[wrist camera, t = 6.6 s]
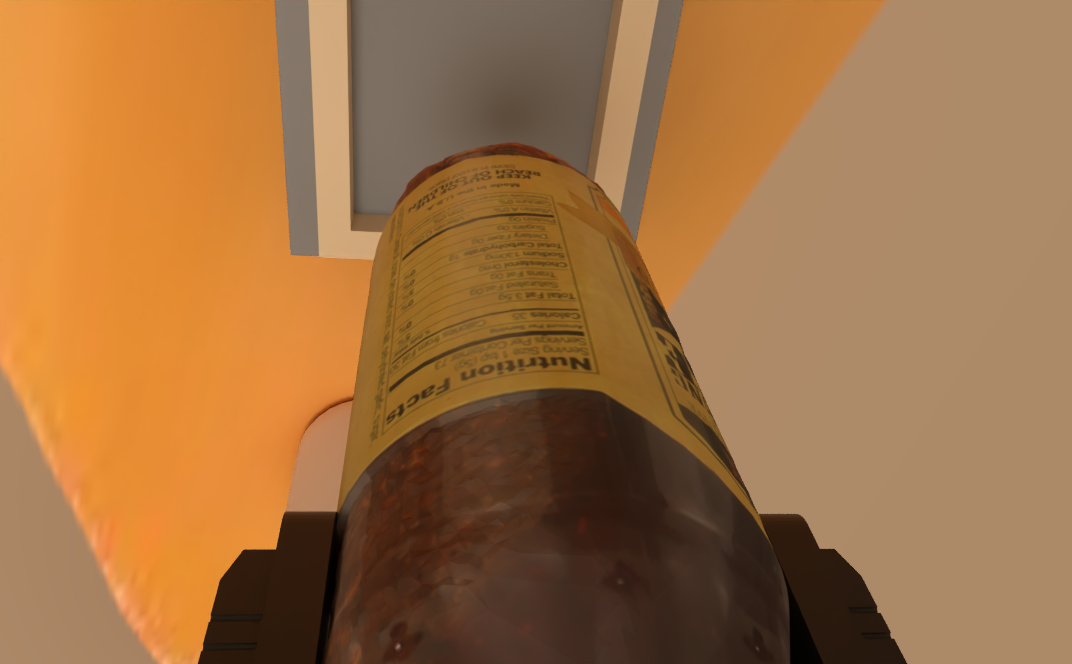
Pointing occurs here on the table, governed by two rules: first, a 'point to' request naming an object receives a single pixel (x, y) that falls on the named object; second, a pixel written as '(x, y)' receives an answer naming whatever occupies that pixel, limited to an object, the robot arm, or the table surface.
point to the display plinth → (460, 99)
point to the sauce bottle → (536, 445)
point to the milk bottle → (321, 462)
